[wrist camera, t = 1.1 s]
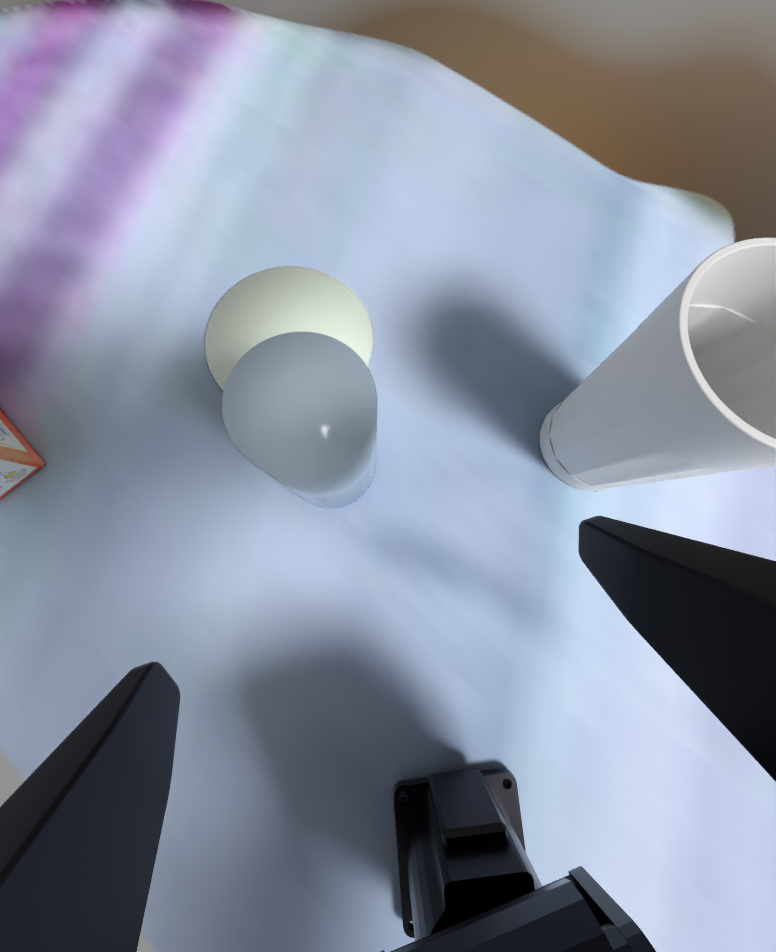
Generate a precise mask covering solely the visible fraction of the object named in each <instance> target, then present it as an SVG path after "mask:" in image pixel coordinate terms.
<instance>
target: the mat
mask: <svg viewBox="0 0 776 952" xmlns="http://www.w3.org/2000/svg"><path fill="white" fill-rule="evenodd" d="M289 332H314V333H320V334H324V335H327V336H330V337H332V338H335V339H337V340H339V341H341V342H343V343H344V344H346V345H347V346H349V347H350V348H351V349H353V350H354V351H355V352H356V353H357V354H358V355H359V356H360V357H361V359H362V360H363V361H364V362H365V364H366V365H367V367H368V365H369V361H370V358H371V353H372V346H373V339H372V328H371V323H370V320H369V317H368V314H367V312H366V310H365V308H364V306H363V304H362V303H361V301H360V300H359V298H358V297H357V296H356V295H355V294H354V292H353V291H352V290H351V289H350V288H348V287H347V286H346V285H345V284H344V283H342V282H341V281H339V280H338V279H336V278H334V277H332V276H330V275H329V274H326V273H324V272H321V271H318V270H314V269H310V268H305V267H293V266H286V267H276V268H272V269H267V270H264V271H261V272H258V273H255V274H253V275H251V276H249V277H247V278H245V279H243V280H242V281H240V282H239V283H237V284H236V285H235V286H233V287H232V288H231V289H230V290H229V291H228V292H227V293H226V294H225V295H224V296H223V297H222V298H221V300H220V301H219V302H218V304H217V305H216V307H215V308H214V310H213V312H212V314H211V316H210V319H209V321H208V325H207V329H206V333H205V354H206V359H207V363H208V366H209V369H210V371H211V374H212V375H213V377H214V379H215V381H216V382H217V384H218V385H219V386H220V388H221V389H222V390H223V391H224V387H225V384H226V381H227V378H228V376H229V374H230V373H231V371H232V369H233V368H234V366H235V365H236V363H237V362H238V361H239V360H240V358H241V357H242V356H243V355H244V354H245V353H246V352H248V351H249V350H250V349H251V348H252V347H254V346H256V345H257V344H259V343H260V342H262V341H264V340H266V339H268V338H271V337H273V336H276V335H279V334H284V333H289Z"/></svg>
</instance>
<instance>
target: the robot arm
mask: <svg viewBox="0 0 776 952" xmlns="http://www.w3.org/2000/svg"><path fill="white" fill-rule="evenodd" d="M579 555H580V558H581V559H582V561H583V563H584V564H585V565H586V567H587V568H588V569H589V571H590V572H591V573H592V575H593V576H594V577H595V578H596V580H597V581H598V582H599V584H600V585H601V586H602V588H603V589H604V590H605V592H606V593H607V594H608V596H609V597H610V598H611V600H612V601H613V602H614V603H615V605H616V606H617V607H618V609H619V610H620V611H621V613H622V614H623V615H624V616H625V618H626V619H627V620H628V621H629V622H630V624H631V625H632V626H633V627H634V628H635V629H636V630H637V631H638V633H639V634H640V635H641V636H642V637H643V638H644V639H645V640H646V641H647V642H648V643H649V644H650V646H651V647H652V648H653V649H654V650H655V651H656V652H657V653H658V654H659V655H660V656H661V657H662V659H663V660H664V661H665V662H666V663H667V664H668V665H669V666H670V667H671V668H672V669H673V671H674V672H675V673H676V674H677V675H678V676H679V677H680V678H681V679H682V680H683V681H684V682H685V684H686V685H687V686H688V687H689V688H690V689H691V690H692V691H693V692H694V693H695V694H696V695H697V697H698V698H699V699H700V700H701V701H702V702H703V703H704V704H705V705H706V706H707V707H708V709H709V710H710V711H711V712H712V713H713V714H714V715H715V716H716V717H717V718H718V719H719V720H720V722H721V723H722V724H723V725H724V726H725V727H726V728H727V729H728V730H729V731H730V732H731V733H732V735H733V736H734V737H735V738H736V739H737V740H738V741H739V742H740V743H741V744H742V745H743V747H744V748H745V749H746V750H747V751H748V752H749V753H750V754H751V755H752V756H753V757H754V758H755V760H756V761H757V762H758V763H759V764H760V765H761V766H762V767H763V768H764V769H765V770H766V771H767V773H768V774H769V775H770V776H771V777H772V778H773V779H774V780H775V781H776V561H772V560H769V559H765V558H761V557H757V556H753V555H749V554H746V553H742V552H738V551H734V550H730V549H726V548H722V547H719V546H715V545H711V544H707V543H703V542H699V541H696V540H692V539H688V538H684V537H680V536H676V535H672V534H669V533H665V532H661V531H657V530H653V529H649V528H646V527H642V526H638V525H634V524H630V523H626V522H622V521H619V520H615V519H611V518H607V517H603V516H595V517H592V518H589V519H586V520H583V521H582V522H581V523H580V525H579ZM179 704H180V692H179V688H178V686H177V684H176V683H175V682H174V680H173V679H172V678H171V676H170V675H169V674H168V672H167V671H166V670H165V669H164V667H163V666H162V665H161V664H160V663H158V662H150V663H147V664H144V665H141V666H138V667H135V668H133V669H132V670H131V671H130V672H129V673H128V674H127V675H126V676H125V677H124V678H123V679H122V680H121V681H120V682H119V683H118V684H117V685H116V686H115V687H114V688H113V689H112V690H111V691H110V693H109V694H108V695H107V696H106V697H105V698H104V699H103V700H102V701H101V702H100V703H99V704H98V705H97V706H96V707H95V708H94V709H93V710H92V711H91V712H90V714H89V715H88V716H87V717H86V718H85V719H84V720H83V721H82V722H81V723H80V724H79V725H78V726H77V727H76V728H75V729H74V730H73V731H72V732H71V733H70V734H69V736H68V737H67V738H66V739H65V740H64V741H63V742H62V743H61V744H60V745H59V746H58V747H57V748H56V749H55V750H54V751H53V752H52V753H51V754H50V755H49V757H48V758H47V759H46V760H45V761H44V762H43V763H42V764H41V765H40V766H39V767H38V768H37V769H36V770H35V771H34V772H33V773H32V774H31V775H30V776H29V777H28V779H27V780H26V781H25V782H24V783H23V784H22V785H21V786H20V787H19V788H18V789H17V790H16V791H15V792H14V793H13V794H12V796H10V797H9V798H8V800H7V801H6V802H5V803H4V804H3V805H2V806H1V807H0V952H136V951H137V946H138V941H139V936H140V932H141V927H142V922H143V917H144V912H145V907H146V902H147V898H148V893H149V888H150V883H151V878H152V873H153V868H154V864H155V859H156V854H157V849H158V844H159V839H160V834H161V829H162V825H163V820H164V815H165V810H166V805H167V800H168V795H169V789H170V783H171V776H172V768H173V759H174V750H175V741H176V731H177V722H178V713H179ZM506 778H508V779H509V782H508V784H506V785H504V784H503V780H504V779H506ZM401 791H406V792H407V795H406V796H405V797H401V796H400V795H399V793H400V792H401ZM393 794H394V808H395V821H396V835H397V849H398V862H399V876H400V890H401V903H402V917H403V928H404V932H405V933H406V934H407V935H408V936H409V937H412V938H415V942H412V943H410V944H408V945H405V946H403V947H401V948H398V949H396V950H394V951H391V952H656V951H655V949H654V948H653V946H652V945H651V944H650V942H649V941H648V939H647V938H646V936H645V935H644V934H643V932H642V931H641V930H640V928H639V927H638V926H637V925H636V924H635V922H634V921H633V920H632V919H631V918H630V917H629V916H628V915H627V914H626V913H625V912H624V910H623V909H622V908H621V907H620V906H619V905H618V904H617V903H616V902H615V901H614V900H613V899H612V898H611V897H610V896H609V895H608V894H607V893H606V892H605V890H604V889H603V888H602V887H601V886H600V885H599V884H598V883H597V882H596V881H595V880H594V879H593V878H592V877H591V876H590V875H589V874H588V873H587V872H586V870H585V869H584V868H583V867H582V866H579V867H577V868H575V869H572V870H570V871H569V875H568V876H566V877H564V878H561V879H559V880H557V881H554V882H552V883H550V884H547V885H545V886H542V884H541V882H540V880H539V878H538V876H537V874H536V872H535V870H534V868H533V866H532V864H531V862H530V860H529V858H528V856H527V854H526V852H525V844H524V836H523V829H522V821H521V813H520V806H519V798H518V790H517V783H516V779H515V778H514V776H513V774H512V773H511V772H510V771H509V770H508V769H496V770H488V771H478V770H477V769H470V770H462V771H453V772H445V773H436V774H432V775H431V776H430V777H429V778H420V779H412V780H403V781H400V782H398V783H397V784H396V785H395V787H394V791H393ZM412 919H413V923H410V922H409V921H410V920H412ZM381 952H384V950H383V951H381Z"/></svg>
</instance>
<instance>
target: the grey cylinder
mask: <svg viewBox="0 0 776 952" xmlns="http://www.w3.org/2000/svg"><path fill="white" fill-rule="evenodd" d="M222 417H223V421H224V426H225V428H226V431H227V434H228V436H229V438H230V439H231V441H232V443H233V444H234V446H235V447H236V448H237V450H238V451H239V452H240V453H241V454H242V455H243V456H244V457H245V458H246V459H248V460H249V461H250V462H252V463H253V464H254V465H256V466H257V467H258V468H260V469H261V470H263V471H264V472H266V473H267V474H268V475H270V476H271V477H273V478H274V479H275V480H277V481H278V482H280V483H281V484H283V485H284V486H285V487H287V488H288V489H290V490H291V491H292V492H294V493H295V494H297V495H298V496H300V497H301V498H302V499H304V500H305V501H307V502H309V503H310V504H313V505H315V506H318V507H322V508H338V507H343V506H346V505H348V504H351V503H352V502H354V501H356V500H357V499H359V498H360V497H361V496H362V495H363V494H364V493H365V492H366V490H367V489H368V488H369V486H370V484H371V482H372V480H373V477H374V473H375V466H376V432H377V392H376V386H375V383H374V380H373V377H372V375H371V373H370V370H369V369H368V367H367V365H366V364H365V362H364V361H363V360H362V359H361V357H360V356H359V355H358V354H357V353H356V352H355V351H354V350H353V349H351V348H350V347H349V346H347V345H346V344H344V343H343V342H341V341H339V340H337V339H335V338H332V337H330V336H327V335H324V334H320V333H314V332H289V333H284V334H279V335H276V336H273V337H271V338H268V339H266V340H264V341H262V342H260V343H259V344H257V345H256V346H254V347H252V348H251V349H250V350H249V351H248V352H246V353H245V354H244V355H243V356H242V357H241V358H240V360H239V361H238V362H237V363H236V365H235V366H234V368H233V369H232V371H231V373H230V374H229V376H228V378H227V381H226V384H225V387H224V391H223V395H222Z"/></svg>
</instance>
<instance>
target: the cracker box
mask: <svg viewBox="0 0 776 952" xmlns="http://www.w3.org/2000/svg"><path fill="white" fill-rule="evenodd" d="M43 465H45V463H44V461H43V460H42V459H41V457H40V456H39V455H38V454H37V453H36V452H35V450H34V449H33V448H32V447H31V446H30V444H29V443H28V442H27V441H26V440H25V439H24V437H23V436H22V435H21V434H20V432H19V431H18V430H17V429H16V428H15V427H14V425H13V424H12V423H11V422H10V421H9V420H8V418H7V417H6V416H5V415H4V414H3V412H2V411H1V410H0V499H1V498H2V497H4V496H5V495H6V494H7V493H9V492H10V491H11V490H12V489H14V488H15V487H16V486H18V485H19V484H20V483H22V482H23V481H24V480H25V479H27V478H28V477H29V476H31V475H32V474H33V473H34V472H36V471H37V470H38V469H40V468H41V467H42V466H43Z"/></svg>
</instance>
